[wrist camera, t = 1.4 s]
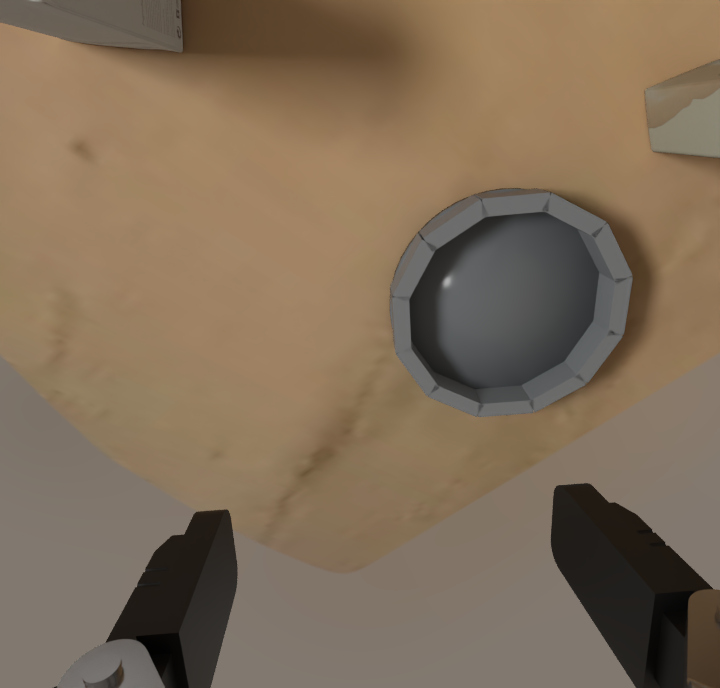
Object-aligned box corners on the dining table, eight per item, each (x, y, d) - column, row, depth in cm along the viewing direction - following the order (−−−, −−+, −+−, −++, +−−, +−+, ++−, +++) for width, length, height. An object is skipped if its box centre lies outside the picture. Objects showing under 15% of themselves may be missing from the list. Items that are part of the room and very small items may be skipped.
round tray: (458, 145, 33) (468, 146, 30) (655, 249, 36) (682, 260, 33) (353, 349, 39) (353, 367, 36) (529, 423, 42) (542, 445, 39)
